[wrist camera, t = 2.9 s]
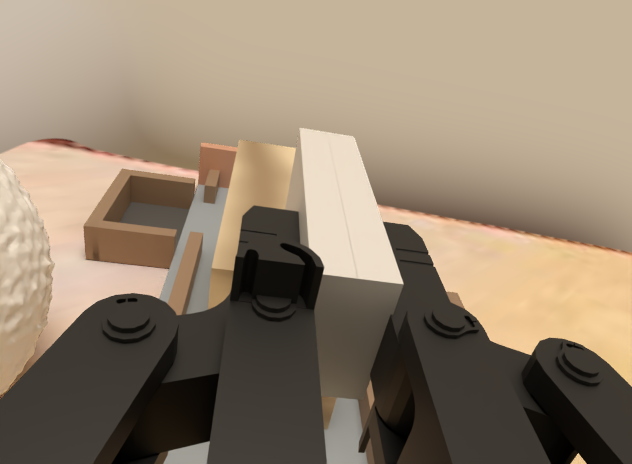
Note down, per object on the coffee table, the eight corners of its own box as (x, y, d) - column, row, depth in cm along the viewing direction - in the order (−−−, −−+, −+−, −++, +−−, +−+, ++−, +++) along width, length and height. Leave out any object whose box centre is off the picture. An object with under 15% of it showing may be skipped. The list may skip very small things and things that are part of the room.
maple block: (314, 269, 40) (339, 154, 35) (327, 429, 27) (369, 286, 22) (226, 258, 39) (239, 139, 34) (198, 420, 26) (211, 268, 21)
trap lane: (403, 217, 53) (416, 174, 50) (525, 524, 26) (569, 464, 23) (132, 181, 49) (132, 132, 47) (-57, 496, 22) (-84, 420, 19)
